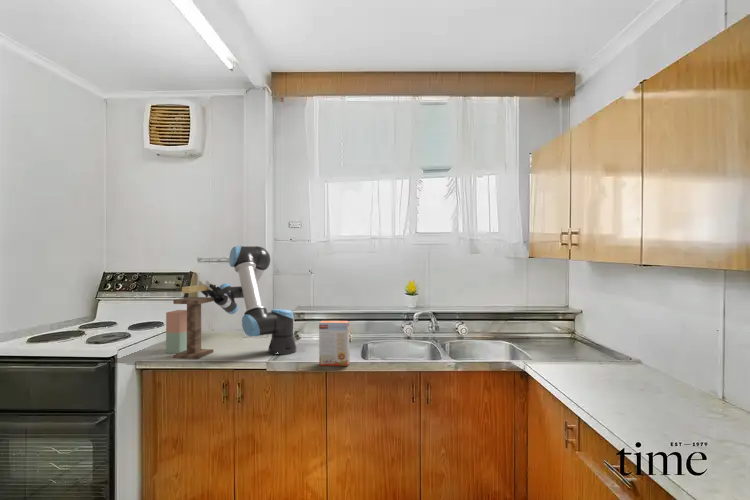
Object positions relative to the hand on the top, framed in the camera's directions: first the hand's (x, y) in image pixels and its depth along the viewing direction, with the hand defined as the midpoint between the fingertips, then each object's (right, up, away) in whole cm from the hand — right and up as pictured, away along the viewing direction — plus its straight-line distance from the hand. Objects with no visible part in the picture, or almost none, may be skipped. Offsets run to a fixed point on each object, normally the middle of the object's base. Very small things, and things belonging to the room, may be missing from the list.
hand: (202, 282), depth 217 cm
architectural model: (+79, -39, +24) cm, 91 cm away
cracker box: (+76, -38, -26) cm, 89 cm away
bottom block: (-14, -38, +1) cm, 40 cm away
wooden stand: (-1, -38, -8) cm, 39 cm away
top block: (-14, -27, +2) cm, 30 cm away
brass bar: (-1, -4, -3) cm, 5 cm away
